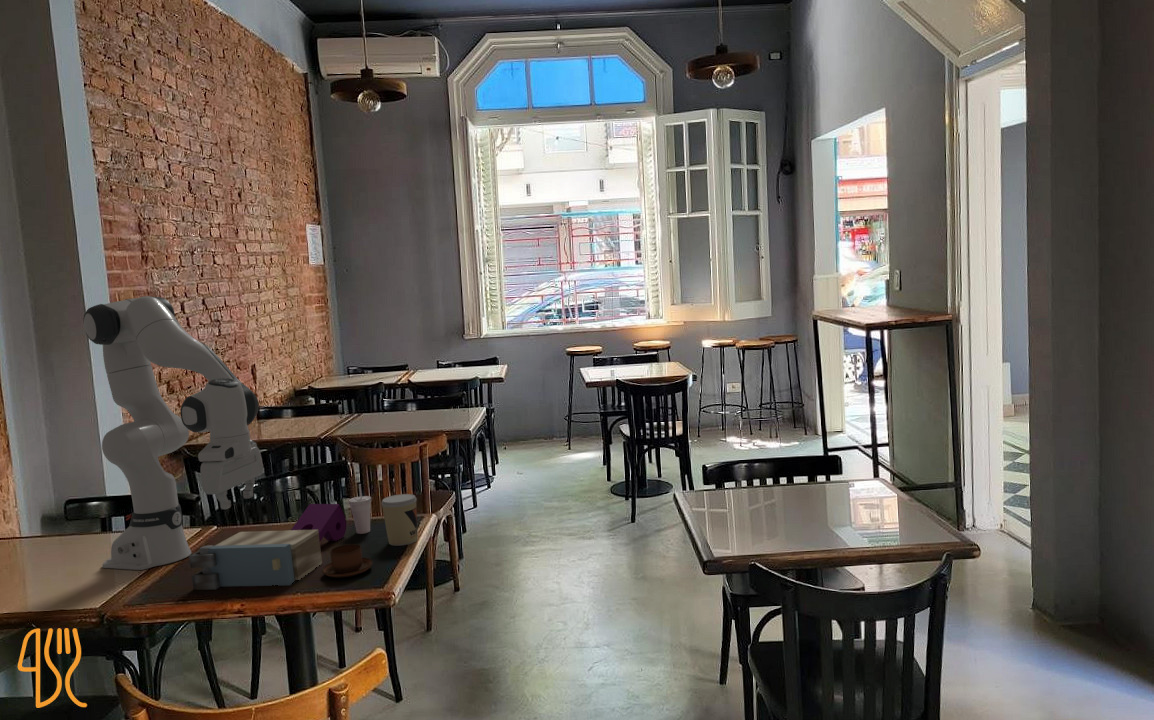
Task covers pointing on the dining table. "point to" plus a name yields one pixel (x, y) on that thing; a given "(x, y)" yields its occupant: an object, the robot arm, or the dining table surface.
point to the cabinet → (301, 543)
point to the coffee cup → (400, 519)
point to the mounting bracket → (323, 521)
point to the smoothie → (361, 512)
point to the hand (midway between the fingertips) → (237, 503)
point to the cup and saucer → (346, 561)
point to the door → (251, 564)
